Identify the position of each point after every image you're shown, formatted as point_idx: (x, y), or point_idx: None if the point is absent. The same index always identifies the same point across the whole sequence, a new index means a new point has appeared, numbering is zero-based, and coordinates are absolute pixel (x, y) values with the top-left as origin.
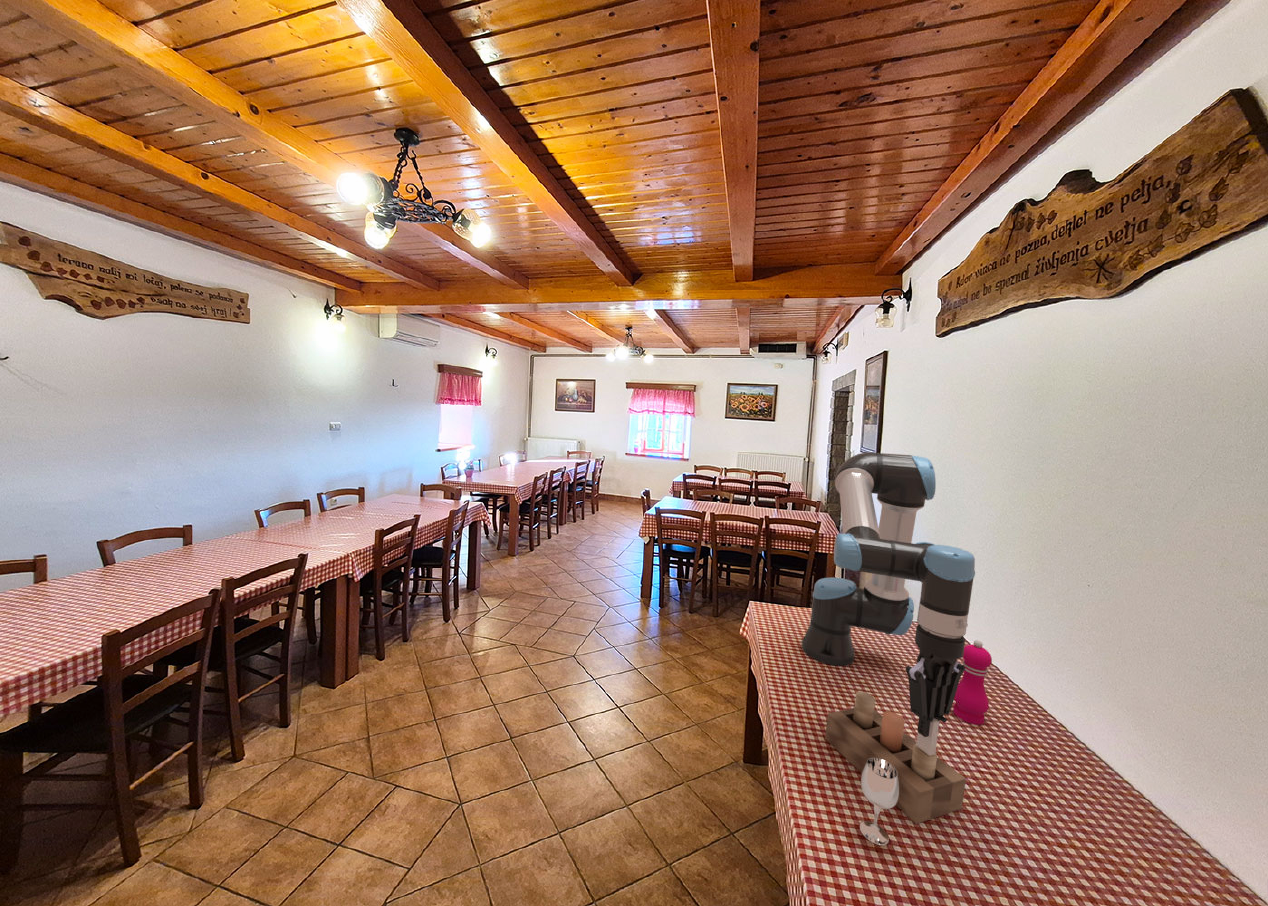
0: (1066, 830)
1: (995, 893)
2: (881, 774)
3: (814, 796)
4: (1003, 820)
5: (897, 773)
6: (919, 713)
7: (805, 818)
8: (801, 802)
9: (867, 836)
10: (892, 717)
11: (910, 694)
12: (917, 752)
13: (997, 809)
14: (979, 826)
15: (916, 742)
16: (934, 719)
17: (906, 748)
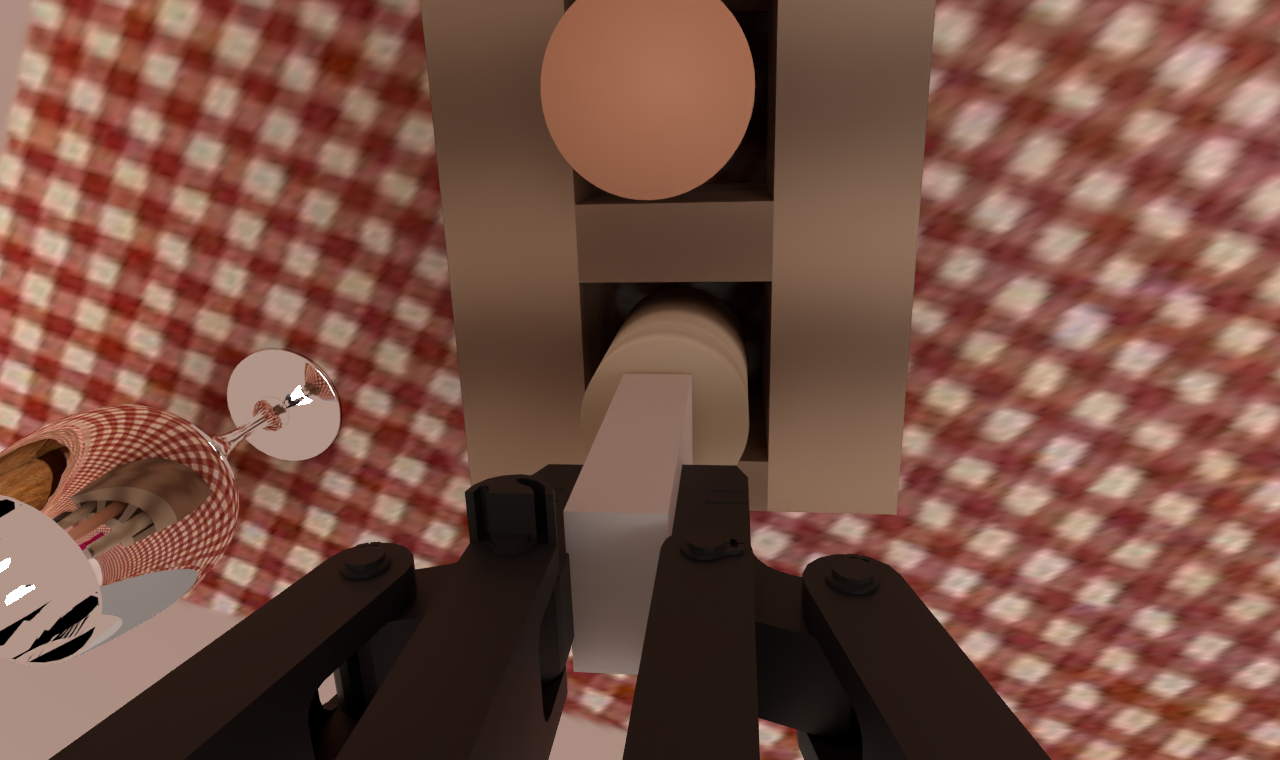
0: (1274, 664)
1: (570, 709)
2: (166, 467)
3: (112, 156)
4: (1010, 538)
5: (86, 646)
6: (337, 686)
7: (7, 256)
8: (26, 171)
9: (234, 415)
10: (634, 83)
11: (84, 752)
12: (581, 417)
13: (1066, 489)
14: (838, 523)
15: (621, 381)
16: (641, 640)
17: (773, 164)
